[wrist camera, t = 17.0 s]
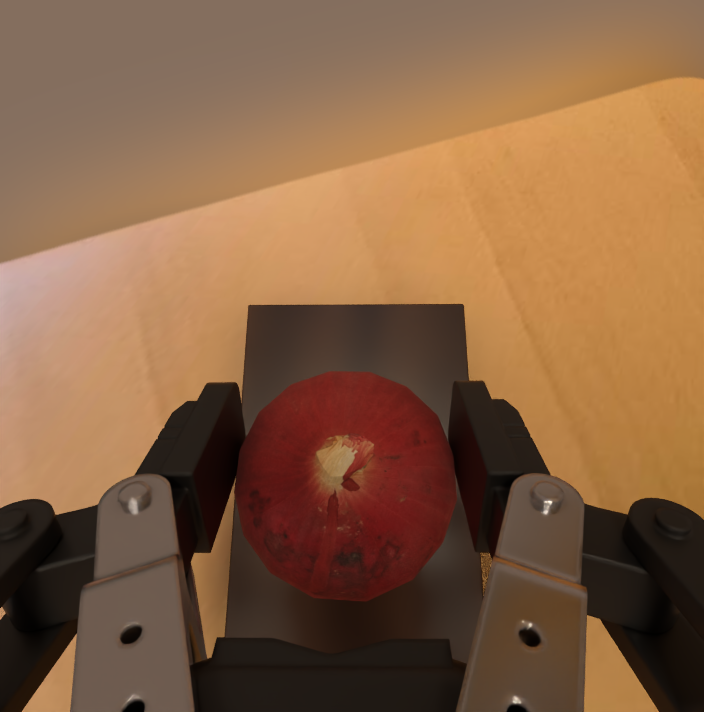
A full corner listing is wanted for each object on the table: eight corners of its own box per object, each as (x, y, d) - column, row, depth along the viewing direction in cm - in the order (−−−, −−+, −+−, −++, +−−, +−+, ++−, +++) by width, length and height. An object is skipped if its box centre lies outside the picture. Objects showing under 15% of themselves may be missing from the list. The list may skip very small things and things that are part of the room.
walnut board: (457, 315, 28) (463, 303, 26) (482, 713, 22) (492, 732, 20) (255, 316, 28) (248, 304, 26) (228, 709, 22) (217, 727, 21)
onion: (435, 579, 15) (508, 660, 8) (258, 572, 15) (156, 644, 8) (432, 402, 17) (489, 323, 9) (273, 398, 17) (201, 316, 10)
